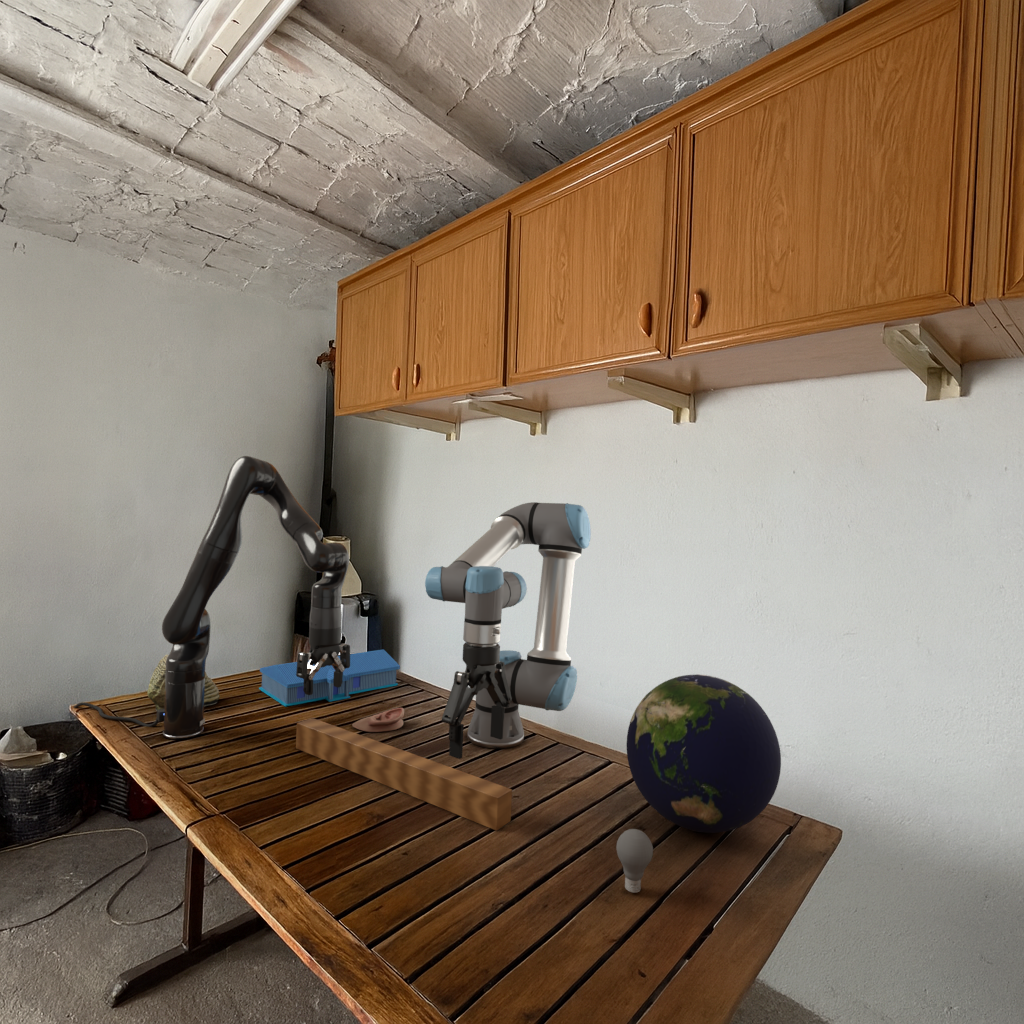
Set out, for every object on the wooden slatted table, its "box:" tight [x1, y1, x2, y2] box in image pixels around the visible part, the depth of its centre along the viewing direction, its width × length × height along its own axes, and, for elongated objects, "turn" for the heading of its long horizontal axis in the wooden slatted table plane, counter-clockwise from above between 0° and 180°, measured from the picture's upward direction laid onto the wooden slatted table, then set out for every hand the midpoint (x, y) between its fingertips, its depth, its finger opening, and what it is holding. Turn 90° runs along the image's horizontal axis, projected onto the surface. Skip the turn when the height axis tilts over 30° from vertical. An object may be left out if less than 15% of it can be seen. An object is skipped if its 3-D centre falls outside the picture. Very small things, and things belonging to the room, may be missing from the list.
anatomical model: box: [351, 707, 405, 733], centre depth 176 cm, size 13×4×12 cm
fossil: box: [147, 654, 221, 711], centre depth 185 cm, size 9×18×15 cm, turn 132°
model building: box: [258, 649, 401, 707], centre depth 208 cm, size 39×24×10 cm, turn 132°
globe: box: [626, 673, 782, 834], centre depth 129 cm, size 30×30×30 cm
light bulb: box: [615, 828, 654, 894], centre depth 106 cm, size 6×6×10 cm
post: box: [295, 717, 513, 831], centre depth 143 cm, size 62×5×6 cm, turn 56°
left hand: (323, 690), depth 155 cm, fingers open, 8 cm apart
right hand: (476, 746), depth 129 cm, fingers open, 13 cm apart
